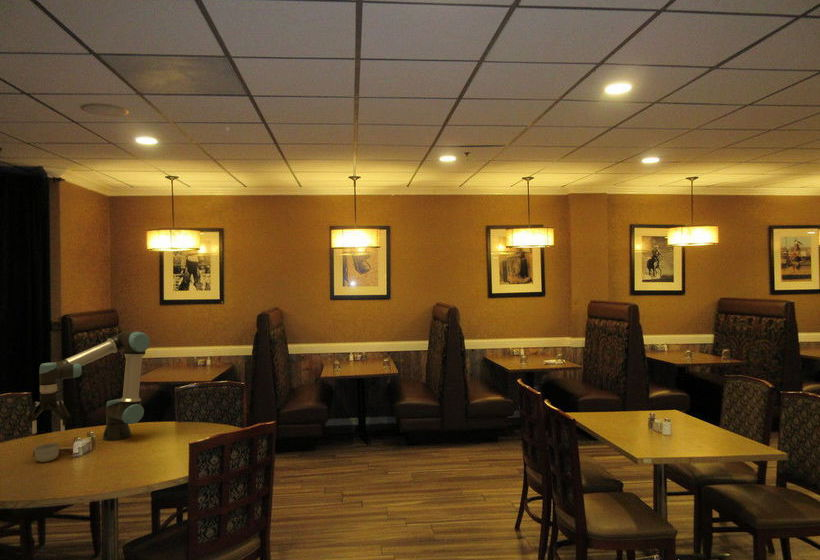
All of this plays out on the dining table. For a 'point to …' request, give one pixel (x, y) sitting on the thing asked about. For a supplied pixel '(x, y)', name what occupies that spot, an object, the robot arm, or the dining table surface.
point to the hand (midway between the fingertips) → (48, 432)
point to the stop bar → (62, 451)
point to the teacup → (46, 452)
